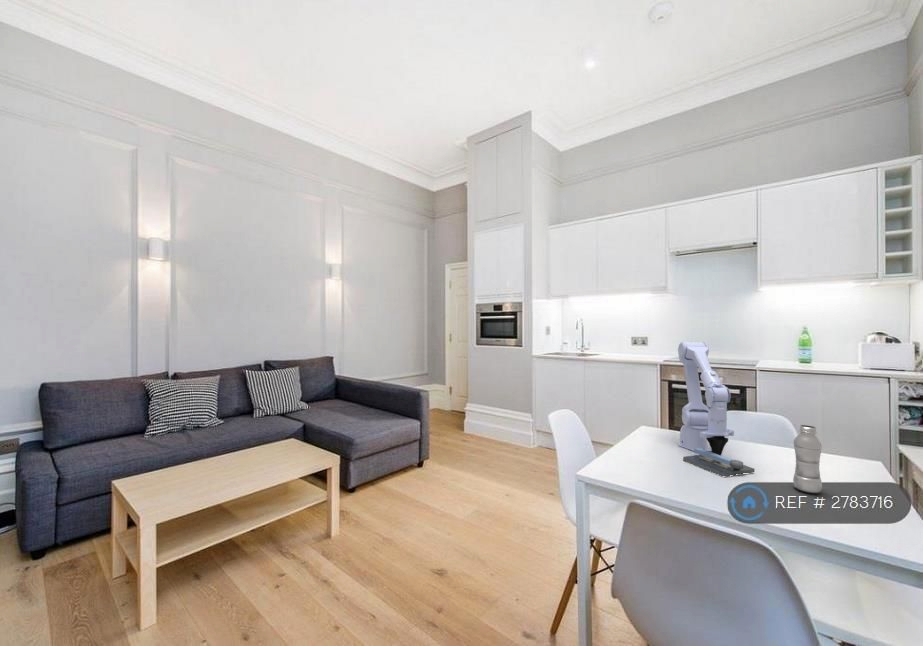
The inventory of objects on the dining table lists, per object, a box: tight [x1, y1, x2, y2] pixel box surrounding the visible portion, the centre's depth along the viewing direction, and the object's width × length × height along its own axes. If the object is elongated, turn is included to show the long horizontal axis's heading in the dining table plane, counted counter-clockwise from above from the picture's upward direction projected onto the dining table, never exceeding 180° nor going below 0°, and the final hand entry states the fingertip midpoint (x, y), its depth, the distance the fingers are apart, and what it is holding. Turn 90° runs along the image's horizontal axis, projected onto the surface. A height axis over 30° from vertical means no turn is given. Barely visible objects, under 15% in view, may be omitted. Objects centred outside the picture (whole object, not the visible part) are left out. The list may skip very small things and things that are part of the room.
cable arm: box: [693, 448, 744, 469], centre depth 136 cm, size 17×4×2 cm, turn 17°
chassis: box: [682, 454, 755, 477], centre depth 137 cm, size 16×14×2 cm
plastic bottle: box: [792, 424, 823, 494], centre depth 117 cm, size 6×7×20 cm
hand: (716, 456), depth 140 cm, fingers closed
